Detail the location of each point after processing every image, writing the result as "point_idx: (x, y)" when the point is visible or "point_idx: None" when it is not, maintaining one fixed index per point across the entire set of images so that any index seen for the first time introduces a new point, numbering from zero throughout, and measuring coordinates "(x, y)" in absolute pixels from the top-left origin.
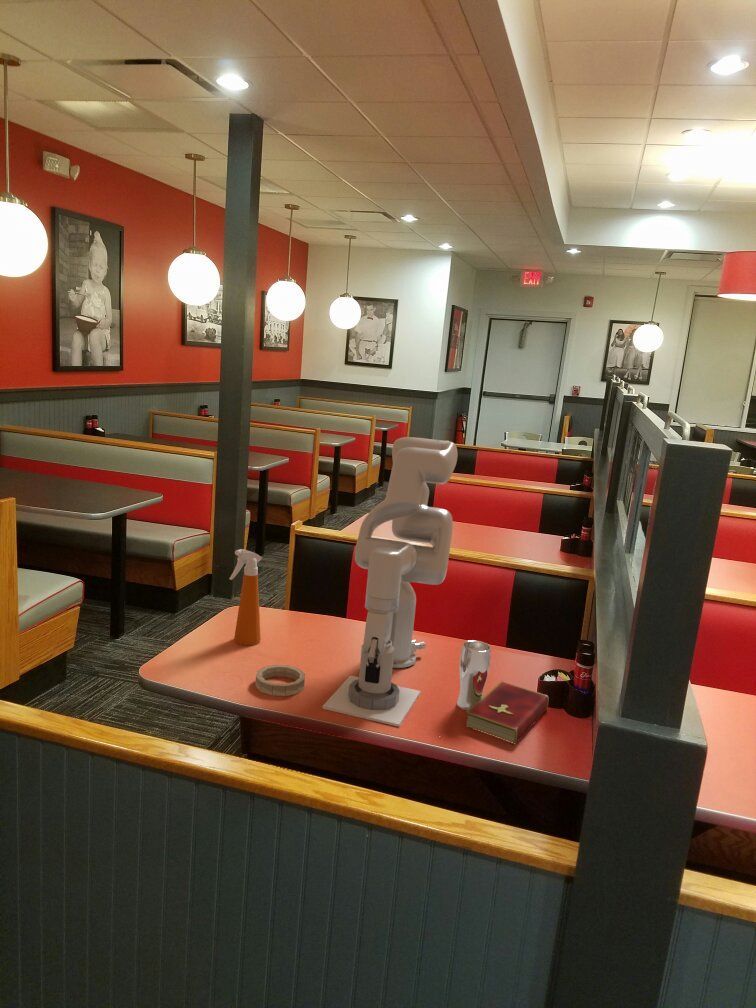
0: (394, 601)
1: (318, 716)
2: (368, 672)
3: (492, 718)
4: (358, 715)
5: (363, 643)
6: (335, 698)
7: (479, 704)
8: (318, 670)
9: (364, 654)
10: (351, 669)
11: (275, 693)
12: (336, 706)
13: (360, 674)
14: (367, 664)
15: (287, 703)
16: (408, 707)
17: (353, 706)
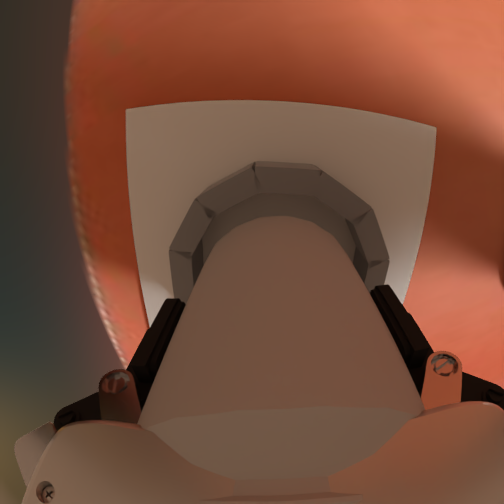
0: None
1: (83, 127)
2: (135, 352)
3: None
4: (136, 246)
5: (29, 488)
6: (205, 122)
7: None
8: (427, 11)
9: (150, 397)
10: (483, 124)
11: None
12: (145, 154)
13: (218, 262)
14: (103, 385)
15: (121, 5)
16: None
17: (176, 212)
